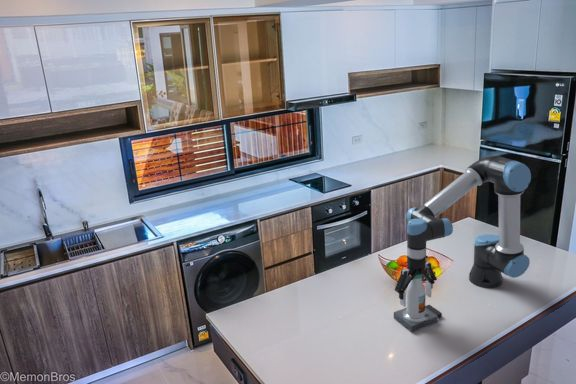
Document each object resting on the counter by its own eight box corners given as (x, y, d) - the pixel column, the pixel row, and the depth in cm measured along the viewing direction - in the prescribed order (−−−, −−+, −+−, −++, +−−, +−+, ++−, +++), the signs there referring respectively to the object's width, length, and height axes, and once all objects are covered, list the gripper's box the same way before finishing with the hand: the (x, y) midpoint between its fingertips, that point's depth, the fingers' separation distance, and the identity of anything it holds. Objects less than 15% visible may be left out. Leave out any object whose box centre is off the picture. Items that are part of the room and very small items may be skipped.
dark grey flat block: (426, 306, 217) (426, 300, 216) (445, 319, 206) (445, 313, 205) (393, 318, 210) (393, 312, 209) (411, 332, 199) (411, 326, 198)
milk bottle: (412, 320, 202) (412, 278, 195) (403, 311, 209) (403, 270, 203) (428, 316, 204) (429, 275, 197) (419, 307, 211) (419, 267, 204)
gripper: (434, 244, 205) (432, 288, 212) (386, 259, 196) (386, 304, 203) (446, 251, 199) (444, 296, 206) (397, 267, 189) (397, 313, 196)
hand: (415, 300), depth 204 cm, fingers open, 13 cm apart
